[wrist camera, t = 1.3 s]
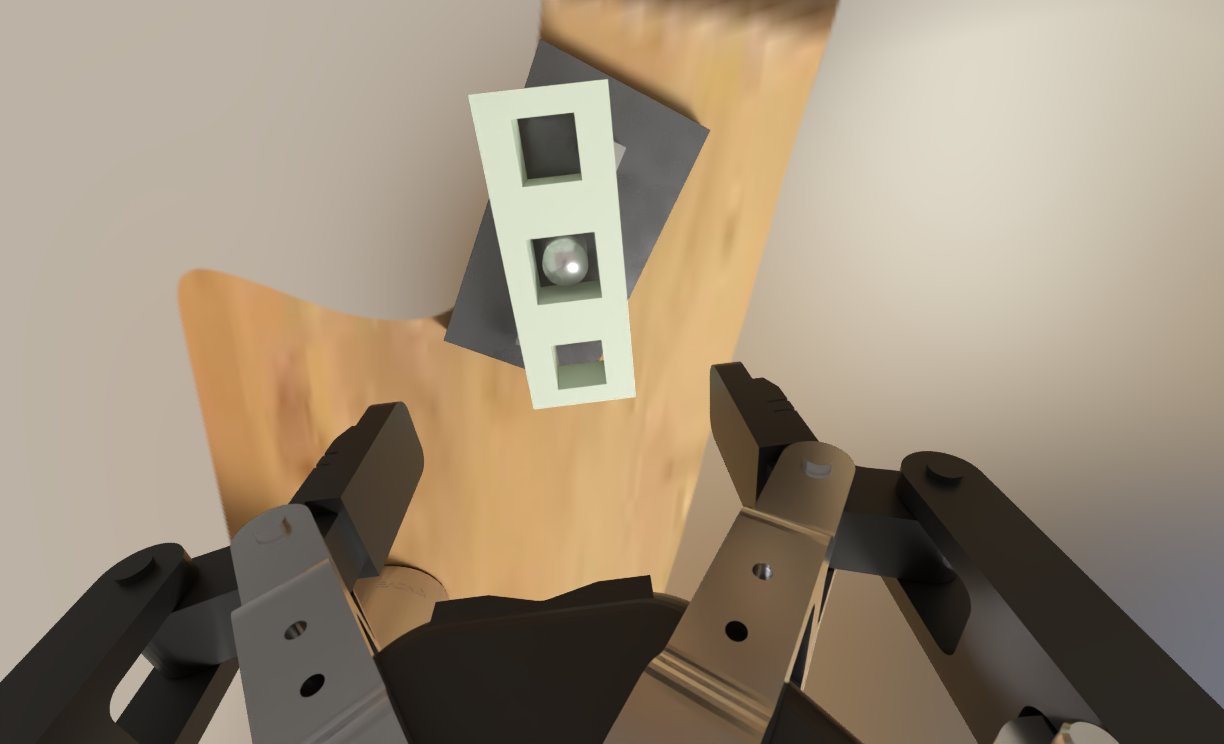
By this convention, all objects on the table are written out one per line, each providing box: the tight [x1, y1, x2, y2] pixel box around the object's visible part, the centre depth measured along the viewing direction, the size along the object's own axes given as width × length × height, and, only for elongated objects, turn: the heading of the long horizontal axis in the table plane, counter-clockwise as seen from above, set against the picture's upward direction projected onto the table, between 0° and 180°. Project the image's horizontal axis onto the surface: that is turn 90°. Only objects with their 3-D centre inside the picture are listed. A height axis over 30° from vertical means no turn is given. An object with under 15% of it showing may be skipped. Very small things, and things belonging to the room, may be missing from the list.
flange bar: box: [468, 79, 636, 409], centre depth 26 cm, size 16×6×3 cm, turn 6°
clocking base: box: [444, 39, 710, 369], centre depth 28 cm, size 18×10×6 cm, turn 156°
